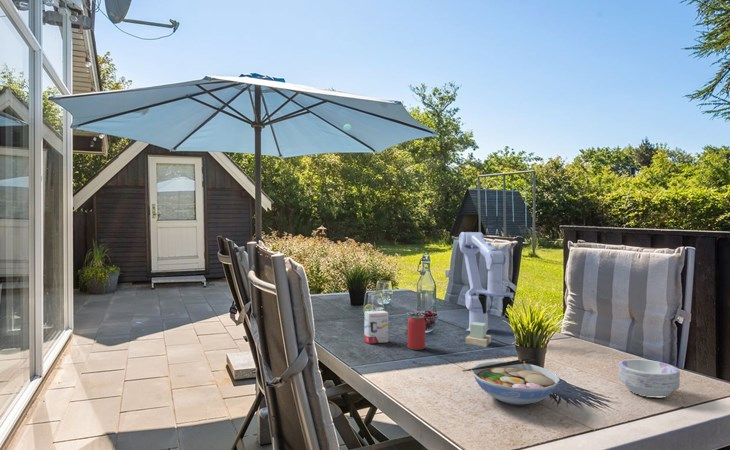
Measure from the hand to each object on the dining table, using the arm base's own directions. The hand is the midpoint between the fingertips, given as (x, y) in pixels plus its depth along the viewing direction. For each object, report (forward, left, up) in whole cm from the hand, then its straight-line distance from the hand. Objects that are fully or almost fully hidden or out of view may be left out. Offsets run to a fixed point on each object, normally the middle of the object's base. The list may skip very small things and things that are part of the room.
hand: (494, 314), depth 196 cm
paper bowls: (+36, +53, -11) cm, 65 cm away
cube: (+8, -4, -8) cm, 12 cm away
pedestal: (+8, -4, -11) cm, 14 cm away
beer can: (+28, -22, -11) cm, 37 cm away
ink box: (+28, -39, -11) cm, 49 cm away
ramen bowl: (+62, +21, -11) cm, 66 cm away
